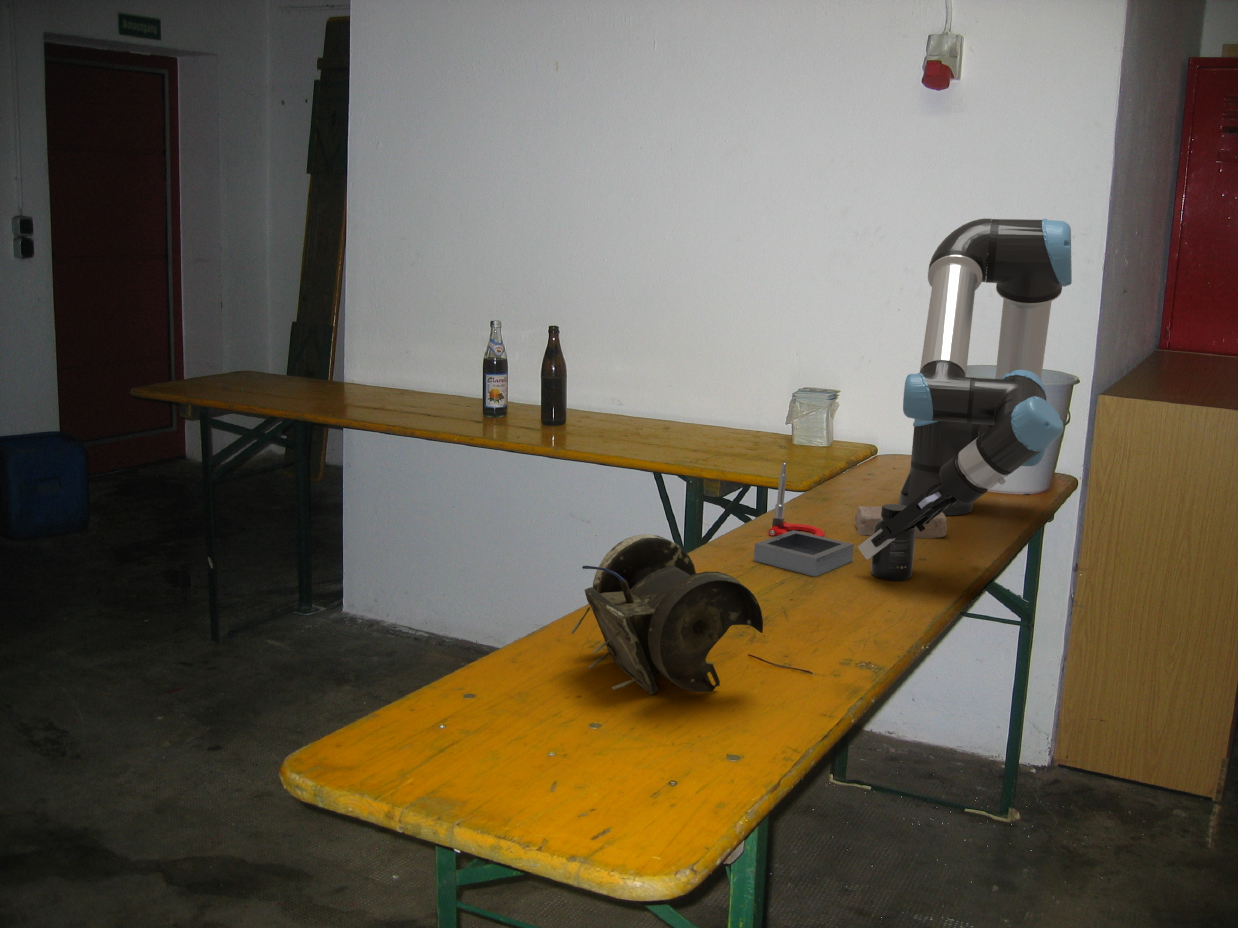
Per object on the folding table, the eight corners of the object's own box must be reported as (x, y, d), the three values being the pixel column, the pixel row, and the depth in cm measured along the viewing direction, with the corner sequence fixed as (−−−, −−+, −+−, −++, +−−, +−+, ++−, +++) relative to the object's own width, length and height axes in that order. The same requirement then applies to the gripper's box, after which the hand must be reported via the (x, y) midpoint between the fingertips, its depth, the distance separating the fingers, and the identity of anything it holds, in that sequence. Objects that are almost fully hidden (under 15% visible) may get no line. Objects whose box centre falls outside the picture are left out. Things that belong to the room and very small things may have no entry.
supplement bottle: (917, 574, 186) (923, 506, 183) (902, 584, 181) (908, 514, 178) (880, 566, 190) (885, 500, 187) (864, 575, 184) (869, 507, 182)
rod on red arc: (829, 535, 211) (779, 526, 215) (837, 465, 208) (786, 457, 212) (817, 547, 203) (765, 537, 207) (825, 475, 200) (773, 466, 203)
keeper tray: (792, 546, 201) (793, 530, 200) (852, 561, 193) (853, 543, 192) (753, 560, 191) (754, 543, 191) (815, 576, 183) (816, 558, 183)
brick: (859, 537, 209) (861, 513, 208) (853, 525, 217) (855, 502, 216) (946, 541, 208) (949, 517, 207) (937, 529, 216) (939, 506, 215)
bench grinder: (706, 610, 156) (651, 492, 149) (789, 659, 136) (730, 526, 129) (589, 687, 150) (526, 569, 144) (658, 751, 130) (589, 616, 124)
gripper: (960, 501, 164) (857, 579, 178) (1012, 481, 179) (913, 554, 193) (931, 461, 167) (831, 541, 181) (984, 444, 181) (889, 520, 195)
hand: (874, 548), depth 187 cm, fingers closed on supplement bottle, 7 cm apart
